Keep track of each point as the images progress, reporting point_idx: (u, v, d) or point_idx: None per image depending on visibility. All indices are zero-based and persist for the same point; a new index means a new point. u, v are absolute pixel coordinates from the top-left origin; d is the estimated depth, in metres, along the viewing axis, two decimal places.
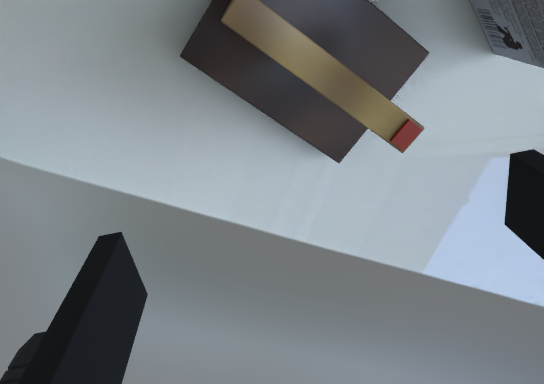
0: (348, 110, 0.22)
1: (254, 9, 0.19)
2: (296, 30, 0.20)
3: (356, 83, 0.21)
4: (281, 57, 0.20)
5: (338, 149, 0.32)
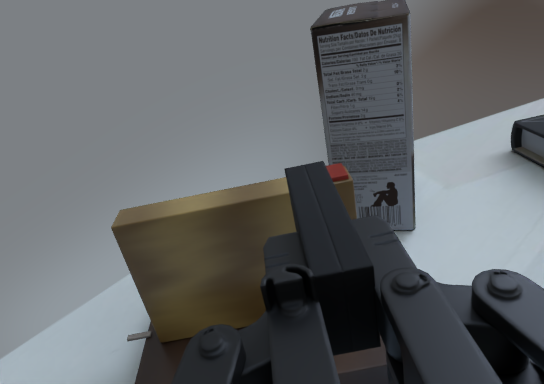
0: (268, 195, 0.20)
1: (137, 209, 0.21)
2: (179, 198, 0.22)
3: (255, 185, 0.21)
4: (178, 211, 0.20)
5: None
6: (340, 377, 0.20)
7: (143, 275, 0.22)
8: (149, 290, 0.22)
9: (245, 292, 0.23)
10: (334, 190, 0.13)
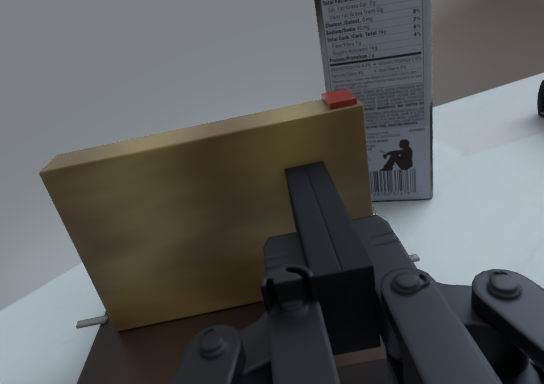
0: (250, 126, 0.15)
1: (78, 153, 0.16)
2: None
3: (234, 119, 0.16)
4: (130, 150, 0.15)
5: None
6: (348, 371, 0.15)
7: (88, 241, 0.16)
8: (97, 261, 0.17)
9: (224, 262, 0.17)
10: (334, 190, 0.13)
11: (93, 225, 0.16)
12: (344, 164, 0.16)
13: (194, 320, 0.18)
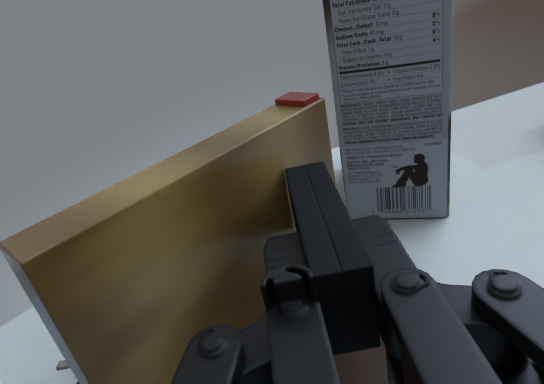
0: (251, 135, 0.14)
1: (42, 226, 0.11)
2: (109, 187, 0.12)
3: (214, 137, 0.15)
4: (137, 194, 0.12)
5: None
6: None
7: (96, 344, 0.11)
8: (109, 368, 0.12)
9: (242, 298, 0.15)
10: (334, 190, 0.13)
11: (103, 316, 0.11)
12: (318, 156, 0.17)
13: None
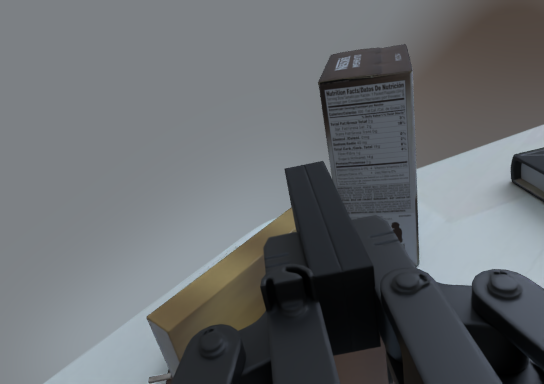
0: None
1: (168, 306, 0.20)
2: (198, 277, 0.21)
3: (256, 237, 0.23)
4: (218, 285, 0.20)
5: None
6: None
7: None
8: None
9: None
10: (334, 190, 0.13)
11: None
12: None
13: None
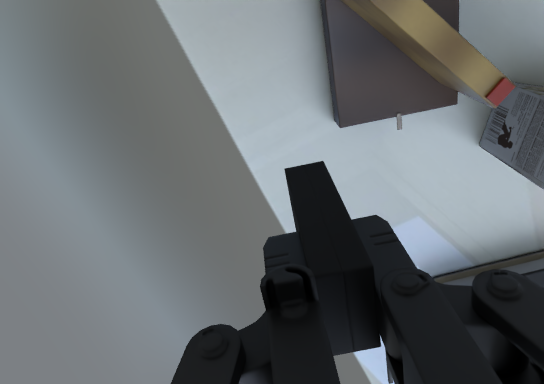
0: (452, 69, 0.25)
1: None
2: None
3: (462, 44, 0.24)
4: (401, 20, 0.24)
5: (348, 117, 0.34)
6: (334, 86, 0.33)
7: None
8: None
9: (393, 38, 0.29)
10: (334, 190, 0.13)
11: None
12: (468, 93, 0.28)
13: None
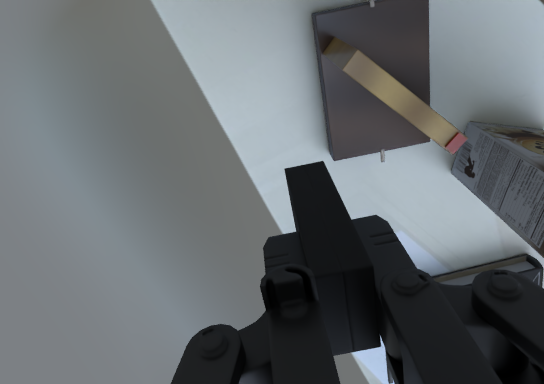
0: (418, 126, 0.33)
1: (364, 62, 0.30)
2: (389, 75, 0.31)
3: (425, 108, 0.32)
4: (378, 92, 0.31)
5: (341, 152, 0.42)
6: (329, 128, 0.41)
7: None
8: None
9: None
10: (334, 190, 0.13)
11: None
12: None
13: None
